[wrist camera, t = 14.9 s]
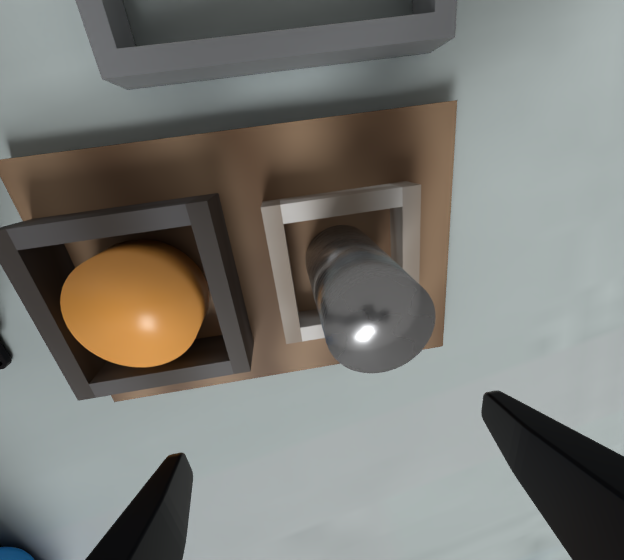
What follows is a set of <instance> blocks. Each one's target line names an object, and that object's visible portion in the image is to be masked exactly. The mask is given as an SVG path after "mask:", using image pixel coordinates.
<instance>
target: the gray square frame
mask: <svg viewBox="0 0 624 560" xmlns="http://www.w3.org/2000/svg"><path fill="white" fill-rule="evenodd" d="M76 3H77V6H78V9H79V12H80V15H81V18H82V21H83V24H84V27H85V30H86V33H87V36H88V39H89V42H90V45H91V48H92V51H93V54H94V56H95V59H96V62H97V65H98V68H99V71H100V74H101V77H102V79H103V80H106V81H108V82H110V83H113V84H115V85H118V86H120V87H123V88H125V89H127V90H129V89H137V88H146V87H154V86H162V85H170V84H179V83H187V82H195V81H203V80H211V79H220V78H228V77H236V76H244V75H253V74H261V73H269V72H277V71H285V70H294V69H302V68H310V67H318V66H326V65H335V64H343V63H351V62H359V61H368V60H376V59H384V58H392V57H400V56H409V55H417V54H425V53H431V52H432V51H434V50H435V49H437V48H439V47H440V46H442V45H443V44H445V43H446V42H448V41H449V40H451V39H453V38H454V37H455V29H456V10H457V0H413V6H412V15H405V16H396V17H388V18H379V19H370V20H362V21H353V22H344V23H336V24H327V25H318V26H310V27H301V28H292V29H283V30H275V31H266V32H257V33H249V34H240V35H231V36H223V37H214V38H205V39H197V40H188V41H179V42H170V43H162V44H153V45H144V46H135V42H134V39H133V35H132V32H131V28H130V25H129V22H128V18H127V15H126V11H125V8H124V4H123V1H122V0H76Z"/></svg>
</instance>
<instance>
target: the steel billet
mask: <svg viewBox="0 0 624 560" xmlns="http://www.w3.org/2000/svg"><path fill="white" fill-rule="evenodd" d="M305 264H306V269H307V273H308V277H309V281H310V284H311V288H312V292H313V295H314V299H315V303H316V306H317V310H318V314H319V318H320V321H321V325H322V329H323V332H324V336H325V340H326V343H327V346H328V349H329V351H330V352H331V354H332V355H333V357H334V358H335V359H336V360H337V361H338V362H339V363H341V364H342V365H343V366H345V367H347V368H349V369H351V370H354V371H358V372H362V373H380V372H385V371H390V370H393V369H396V368H398V367H400V366H402V365H404V364H406V363H407V362H409V361H410V360H412V359H413V358H414V357H415V356H416V355H418V354H419V353H420V352H421V350H422V349H423V348H424V347H425V345H426V344H427V343H428V341H429V339H430V337H431V335H432V332H433V329H434V326H435V319H436V318H435V307H434V304H433V301H432V299H431V297H430V295H429V294H428V293H427V291H426V290H425V289H424V288H423V287H422V286H421V285H420V284H419V283H417V282H416V281H415V280H414V279H413V278H412V277H411V276H410V275H409V274H408V273H407V272H406V271H405V270H403V269H402V268H401V267H400V266H399V265H398V264H397V263H396V262H395V261H394V260H393V259H392V258H391V257H389V256H388V255H387V254H386V253H385V252H384V251H383V250H382V249H381V248H380V247H379V246H378V245H377V244H376V243H374V242H373V241H372V240H371V239H370V238H369V237H368V236H367V235H366V234H365V233H364V232H362V231H361V230H360V229H358V228H356V227H353V226H349V225H336V226H332V227H329V228H327V229H325V230H323V231H321V232H320V233H319V234H318V235H316V236H315V238H314V239H313V240H312V241H311V243H310V245H309V246H308V249H307V252H306V257H305Z"/></svg>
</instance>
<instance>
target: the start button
mask: <svg viewBox="0 0 624 560" xmlns="http://www.w3.org/2000/svg"><path fill="white" fill-rule="evenodd" d="M60 305H61V312H62V315H63V319H64V321H65V323H66V325H67V327H68V329H69V330H70V332H71V333H72V335H73V336H74V337H75V338H76V340H77V341H78V342H79V343H80V344H81V345H83V346H84V347H85V348H86V349H88V350H89V351H90V352H92V353H93V354H95V355H97V356H99V357H101V358H103V359H105V360H107V361H110V362H112V363H116V364H119V365H124V366H129V367H153V366H158V365H162V364H165V363H168V362H170V361H172V360H174V359H176V358H178V357H179V356H181V355H182V354H183V353H184V352H186V351H187V350H188V348H189V347H190V346H191V345H192V343H193V342H194V340H195V338H196V336H197V334H198V331H199V329H200V327H201V324H202V322H203V320H204V318H205V315H206V313H207V310H208V306H209V289H208V285H207V282H206V279H205V277H204V275H203V273H202V272H201V270H200V269H199V267H198V266H197V265H196V264H195V263H194V261H193V260H192V259H190V258H189V257H188V256H187V255H186V254H184V253H183V252H181V251H180V250H178V249H176V248H175V247H173V246H170V245H168V244H165V243H162V242H159V241H155V240H148V239H134V240H127V241H123V242H120V243H117V244H115V245H113V246H111V247H109V248H107V249H106V250H104V251H102V252H101V253H99V254H97V255H95V256H94V257H92V258H90V259H88V260H87V261H85V262H83V263H82V264H80V265H79V266H78V267H76V268H75V269H74V270H73V271H72V272H71V273H70V274H69V276H68V277H67V279H66V280H65V283H64V285H63V287H62V291H61V298H60Z"/></svg>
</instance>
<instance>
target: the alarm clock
mask: <svg viewBox="0 0 624 560" xmlns="http://www.w3.org/2000/svg"><path fill="white" fill-rule="evenodd" d="M0 560H35V559H34V558H33V557H32V556H31V555H30V554H29V553H27V552H26V551H24V550H22V549H19V548H15V547H0Z"/></svg>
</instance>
